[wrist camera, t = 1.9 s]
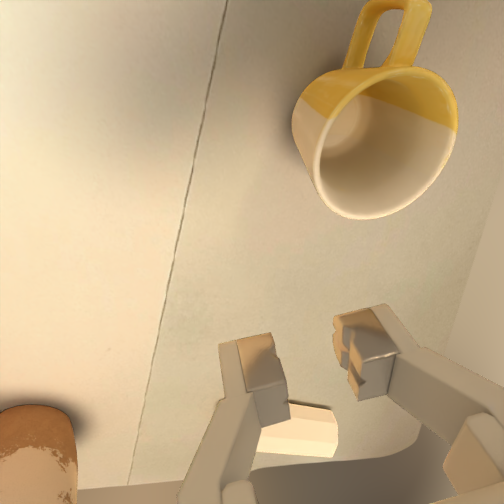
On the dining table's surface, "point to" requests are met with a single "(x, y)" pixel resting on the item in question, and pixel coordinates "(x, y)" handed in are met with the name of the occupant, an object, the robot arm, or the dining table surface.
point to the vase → (37, 456)
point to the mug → (377, 121)
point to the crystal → (302, 433)
